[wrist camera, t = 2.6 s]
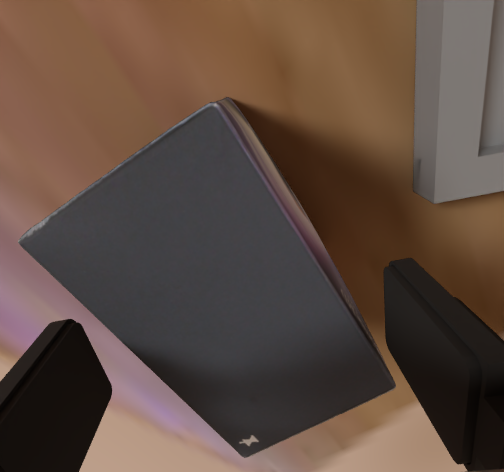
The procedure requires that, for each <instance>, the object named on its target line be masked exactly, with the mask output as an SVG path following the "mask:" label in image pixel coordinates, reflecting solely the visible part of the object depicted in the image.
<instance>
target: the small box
mask: <svg viewBox="0 0 504 472" xmlns="http://www.w3.org/2000/svg"><path fill="white" fill-rule="evenodd" d="M18 243H19V244H20V245H21V246H22V248H23V249H24V250H26V251H27V252H28V253H29V254H30V255H31V256H32V257H33V258H34V259H35V260H36V261H37V262H38V263H39V264H40V265H42V266H43V267H44V268H45V269H46V270H47V271H48V272H49V273H50V274H51V275H52V276H53V277H54V278H55V279H56V280H57V281H58V282H59V283H61V284H62V285H63V286H64V287H65V288H66V289H67V290H68V291H69V292H70V293H71V294H72V295H73V296H74V297H75V298H76V299H77V300H79V301H80V302H81V303H82V304H83V305H84V306H85V307H86V308H87V309H88V310H89V311H90V312H91V313H92V314H93V315H94V316H95V317H96V318H97V319H98V320H99V321H100V322H102V323H103V324H104V325H105V326H106V327H107V328H108V329H109V330H110V331H111V332H112V333H113V334H114V335H115V336H116V337H117V338H118V339H119V340H120V341H121V342H122V343H123V344H125V345H126V346H127V347H128V348H129V349H130V350H131V351H132V352H133V353H134V354H135V355H136V356H137V357H138V358H139V359H140V360H141V361H142V362H143V363H144V364H146V365H147V366H148V367H149V368H150V369H151V370H152V371H153V372H154V373H155V374H156V375H157V376H158V377H159V378H160V379H161V380H162V381H163V382H164V383H165V384H167V385H168V386H169V387H170V388H171V389H172V390H173V391H174V392H175V393H176V394H177V395H178V396H179V397H180V398H181V399H182V400H183V401H184V402H186V403H187V404H188V405H189V406H190V407H191V408H192V409H193V410H194V411H195V412H196V413H197V414H198V415H199V416H200V417H201V418H202V419H203V420H204V421H205V422H207V423H208V424H209V425H210V426H211V427H212V428H213V429H214V430H215V431H216V432H217V433H218V434H219V435H220V436H221V437H222V438H223V439H224V440H225V441H226V442H228V443H229V444H230V445H231V446H232V447H233V448H234V449H235V450H236V451H237V452H238V453H239V454H240V455H241V456H242V457H244V458H246V457H250V456H252V455H254V454H256V453H258V452H260V451H262V450H265V449H267V448H269V447H271V446H273V445H275V444H277V443H279V442H281V441H284V440H286V439H288V438H290V437H292V436H295V435H297V434H299V433H301V432H303V431H305V430H307V429H310V428H312V427H314V426H316V425H319V424H321V423H323V422H325V421H328V420H329V419H331V418H334V417H335V416H337V415H339V414H342V413H344V412H347V411H349V410H351V409H353V408H356V407H358V406H360V405H362V404H364V403H366V402H368V401H370V400H372V399H375V398H377V397H379V396H381V395H382V394H385V393H387V392H389V391H392V390H394V388H395V387H396V385H395V382H394V380H393V377H392V376H391V374H390V372H389V370H388V368H387V366H386V364H385V361H384V359H383V357H382V355H381V353H380V351H379V349H378V347H377V345H376V343H375V341H374V339H373V337H372V335H371V333H370V331H369V329H368V327H367V325H366V323H365V321H364V319H363V317H362V315H361V314H360V312H359V310H358V308H357V306H356V304H355V302H354V300H353V298H352V296H351V294H350V292H349V290H348V288H347V287H346V285H345V283H344V281H343V279H342V277H341V276H340V274H339V272H338V270H337V268H336V266H335V265H334V263H333V261H332V259H331V258H330V256H329V254H328V252H327V250H326V248H325V247H324V245H323V243H322V241H321V239H320V237H319V236H318V234H317V232H316V230H315V229H314V227H313V225H312V223H311V222H310V220H309V218H308V216H307V215H306V213H305V211H304V209H303V208H302V206H301V204H300V202H299V201H298V199H297V198H296V196H295V194H294V193H293V191H292V190H291V188H290V186H289V185H288V183H287V182H286V180H285V178H284V177H283V175H282V173H281V172H280V170H279V169H278V167H277V165H276V164H275V162H274V161H273V159H272V158H271V156H270V154H269V153H268V151H267V150H266V148H265V147H264V145H263V143H262V142H261V140H260V139H259V137H258V136H257V134H256V133H255V131H254V130H253V128H252V127H251V125H250V124H249V122H248V121H247V119H246V118H245V117H244V115H243V114H242V112H241V111H240V110H239V108H238V107H237V106H236V105H235V103H234V102H233V101H232V99H231V98H229V97H226V98H224V99H222V100H220V101H216V102H210V103H209V104H207V105H205V106H203V107H202V108H200V109H199V110H197V111H196V112H194V113H192V114H191V115H189V116H188V117H186V118H185V119H183V120H182V121H180V122H179V123H178V124H176V125H175V126H173V127H172V128H170V129H168V130H167V131H166V132H165V133H163V134H162V135H160V136H159V137H157V138H156V139H155V140H153V141H152V142H150V143H149V144H147V145H146V146H144V147H143V148H142V149H140V150H139V151H137V152H136V153H135V154H133V155H132V156H130V157H129V158H127V159H126V160H124V161H123V162H122V163H120V164H119V165H118V166H116V167H115V168H114V169H112V170H111V171H110V172H108V173H107V174H106V175H104V176H103V177H101V178H100V179H99V180H97V181H95V182H94V183H93V184H91V185H90V186H89V187H88V188H86V189H85V190H83V191H82V192H80V193H79V194H77V195H76V196H75V197H73V198H72V199H71V200H69V201H68V202H67V203H65V204H64V205H63V206H61V207H60V208H58V209H57V210H55V211H54V212H53V213H51V214H50V215H49V216H47V217H46V218H45V219H44V220H42V221H41V222H40V223H38V224H36V225H35V226H33V227H32V228H30V229H29V230H28V231H27V232H26V233H25V234H24V235H22V237H21V238H20V239H19V241H18Z"/></svg>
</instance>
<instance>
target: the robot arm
mask: <svg viewBox="0 0 504 472" xmlns="http://www.w3.org/2000/svg"><path fill="white" fill-rule="evenodd" d="M384 302H385V334H386V343H387V346H388V349H389V351H390V353H391V354H392V356H393V358H394V359H395V361H396V363H397V365H398V366H399V368H400V370H401V371H402V373H403V375H404V377H405V378H406V380H407V382H408V383H409V385H410V387H411V389H412V390H413V392H414V394H415V395H416V397H417V399H418V400H419V402H420V404H421V406H422V407H423V409H424V411H425V412H426V414H427V416H428V417H429V419H430V421H431V423H432V424H433V426H434V428H435V429H436V431H437V433H438V435H439V436H440V438H441V440H442V442H443V443H444V445H445V447H446V448H447V450H448V452H449V454H450V455H451V457H452V458H453V460H454V461H455V462H456V463H457V464H464V466H465V467H466V469H467V471H468V472H504V340H502V339H501V338H500V337H499V336H498V335H497V334H496V333H495V332H494V331H493V330H492V329H491V328H490V327H488V326H487V325H486V324H485V323H484V322H483V321H482V320H481V319H480V318H479V317H478V316H477V315H476V314H474V313H473V312H472V311H471V310H470V309H469V308H468V307H467V306H466V305H465V304H464V303H463V302H462V301H460V300H459V299H457V298H456V297H453V296H452V295H450V294H449V293H448V292H447V291H446V290H445V289H444V288H443V287H442V286H441V285H440V284H439V283H438V282H437V281H436V280H435V279H433V278H432V277H431V276H430V275H429V274H428V273H427V272H426V271H425V270H424V269H423V268H422V267H421V266H420V265H419V264H418V263H417V262H415V261H414V260H413V259H412V258H406V259H401V260H395V261H391V262H390V263H389V267H385V268H384ZM111 395H112V386H111V383H110V381H109V379H108V377H107V375H106V373H105V371H104V369H103V367H102V365H101V363H100V361H99V359H98V357H97V355H96V353H95V351H94V349H93V347H92V345H91V343H90V341H89V339H88V337H87V335H86V333H85V331H84V329H83V327H82V325H81V324H80V323H76V321H74V320H73V319H67V320H62V321H56V322H52V323H50V324H49V325H48V326H47V327H46V328H45V329H44V331H43V332H42V333H41V334H40V335H39V337H38V338H37V339H36V340H35V341H34V342H33V344H32V345H31V346H30V347H29V348H28V350H27V351H26V352H25V353H24V354H23V356H22V357H21V358H20V359H19V360H18V361H17V363H16V364H15V365H14V366H13V367H12V369H11V370H10V371H9V372H8V373H7V374H6V376H5V377H4V378H3V379H2V380H1V382H0V472H79V470H80V468H81V465H82V463H83V461H84V459H85V456H86V454H87V452H88V449H89V447H90V444H91V442H92V440H93V438H94V435H95V433H96V431H97V428H98V426H99V424H100V421H101V419H102V417H103V415H104V412H105V410H106V408H107V405H108V403H109V401H110V398H111Z"/></svg>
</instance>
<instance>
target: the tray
mask: <svg viewBox="0 0 504 472" xmlns="http://www.w3.org/2000/svg"><path fill="white" fill-rule="evenodd" d="M500 191H504V0H417V20H416V69H415V118H414V167H413V192H415V193H417V194H418V195H420V196H422V197H423V198H425V199H427V200H429V201H430V202H432V203H434V204H435V203H441V202H446V201H452V200H457V199H462V198H468V197H473V196H478V195H484V194H489V193H495V192H500Z"/></svg>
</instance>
